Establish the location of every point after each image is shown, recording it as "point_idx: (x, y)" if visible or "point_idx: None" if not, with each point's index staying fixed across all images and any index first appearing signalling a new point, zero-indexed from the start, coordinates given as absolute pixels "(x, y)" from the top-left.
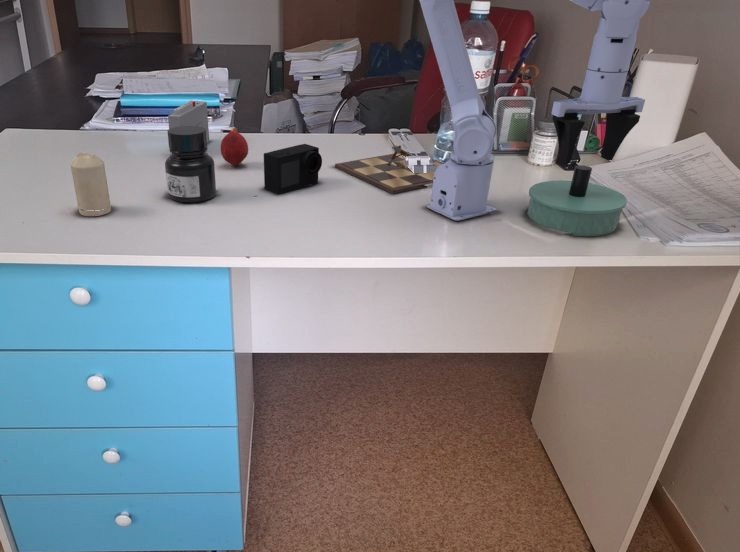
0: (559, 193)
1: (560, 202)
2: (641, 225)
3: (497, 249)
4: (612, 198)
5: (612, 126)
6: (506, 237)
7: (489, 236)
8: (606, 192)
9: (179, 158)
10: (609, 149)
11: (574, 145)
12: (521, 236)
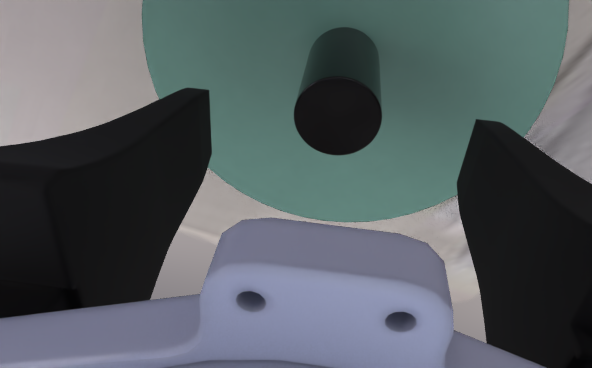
0: (277, 22)
1: (217, 115)
2: (547, 139)
3: (12, 141)
4: (448, 145)
5: (525, 279)
6: (59, 81)
7: (8, 57)
8: (491, 81)
9: None
10: (473, 203)
11: (172, 234)
12: (108, 89)
